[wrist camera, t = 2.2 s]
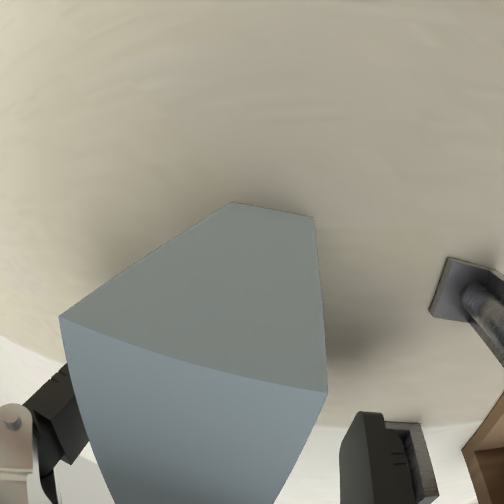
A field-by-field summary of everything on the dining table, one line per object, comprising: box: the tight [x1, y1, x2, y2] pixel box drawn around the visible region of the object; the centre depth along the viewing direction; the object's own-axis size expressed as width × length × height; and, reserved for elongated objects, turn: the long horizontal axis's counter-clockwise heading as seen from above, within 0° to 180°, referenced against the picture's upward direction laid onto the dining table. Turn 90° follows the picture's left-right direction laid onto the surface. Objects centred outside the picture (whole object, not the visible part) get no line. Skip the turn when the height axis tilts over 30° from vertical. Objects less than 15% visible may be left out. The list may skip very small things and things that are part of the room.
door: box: [59, 202, 328, 504], centre depth 9 cm, size 10×4×9 cm, turn 171°
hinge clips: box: [385, 257, 504, 504], centre depth 10 cm, size 11×3×5 cm, turn 171°
